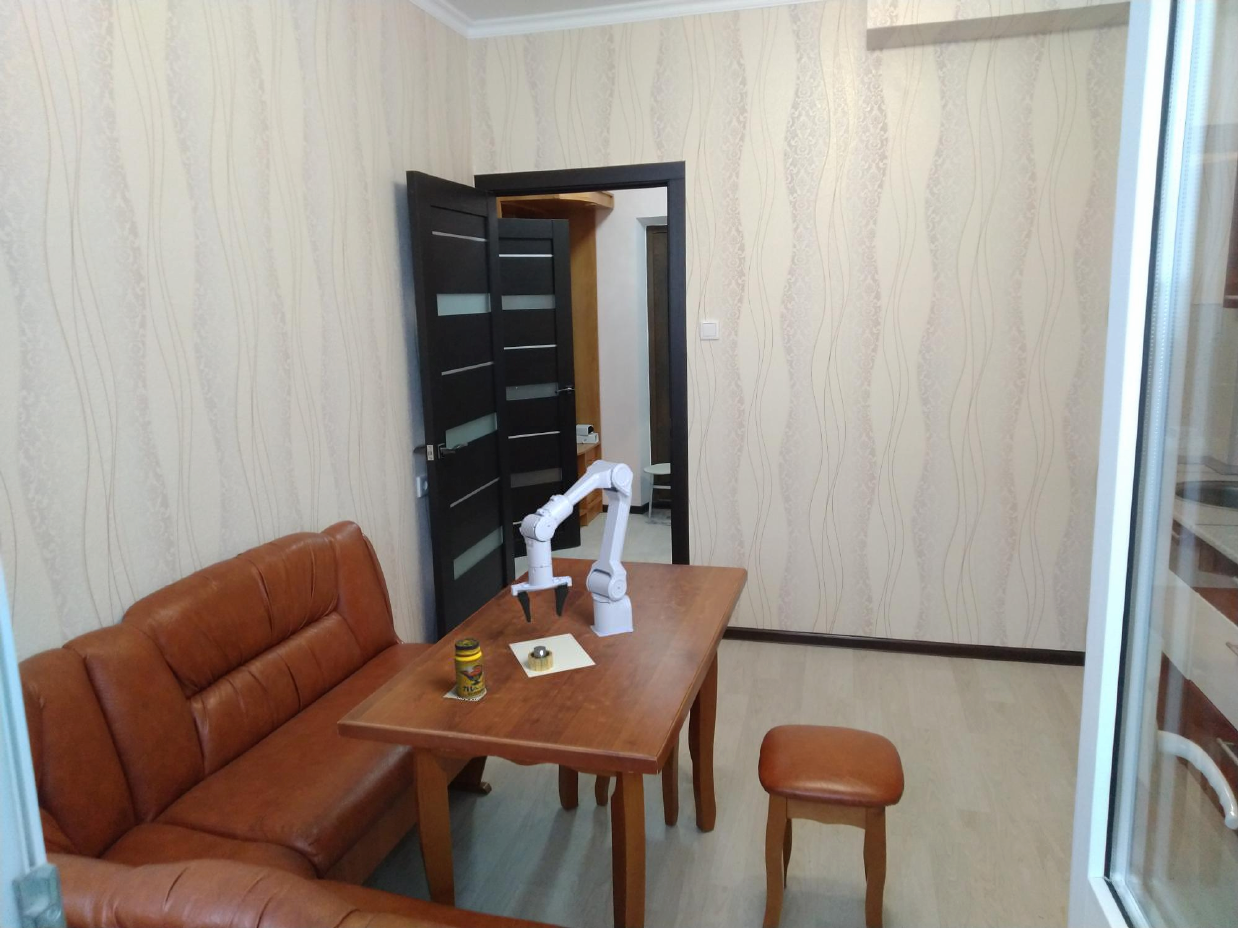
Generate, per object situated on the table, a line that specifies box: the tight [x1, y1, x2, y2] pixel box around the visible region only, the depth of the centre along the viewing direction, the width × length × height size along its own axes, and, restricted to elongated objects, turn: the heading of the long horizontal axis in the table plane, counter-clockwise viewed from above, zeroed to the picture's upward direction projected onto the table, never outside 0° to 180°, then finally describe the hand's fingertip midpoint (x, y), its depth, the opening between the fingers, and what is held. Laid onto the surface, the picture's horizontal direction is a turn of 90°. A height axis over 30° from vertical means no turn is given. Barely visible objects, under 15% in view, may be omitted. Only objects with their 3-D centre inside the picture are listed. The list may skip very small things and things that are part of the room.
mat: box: [508, 633, 596, 678], centre depth 206 cm, size 16×21×1 cm
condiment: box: [443, 637, 488, 702], centre depth 187 cm, size 7×8×12 cm
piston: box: [534, 646, 546, 658], centre depth 198 cm, size 3×3×4 cm
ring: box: [528, 650, 553, 671], centre depth 198 cm, size 6×6×3 cm
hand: (543, 618), depth 205 cm, fingers open, 7 cm apart
